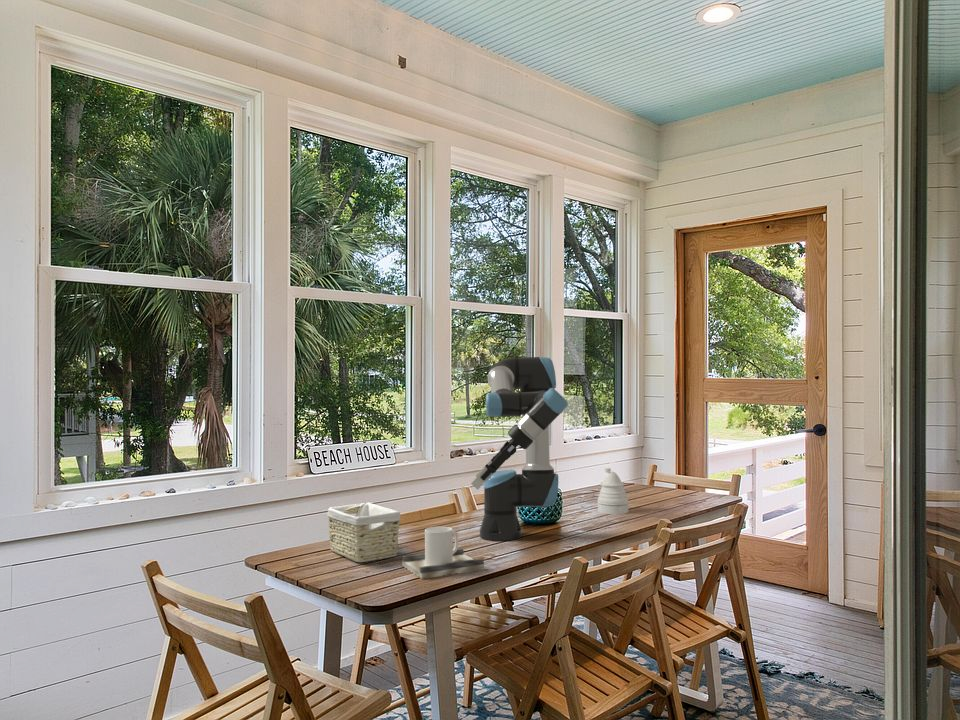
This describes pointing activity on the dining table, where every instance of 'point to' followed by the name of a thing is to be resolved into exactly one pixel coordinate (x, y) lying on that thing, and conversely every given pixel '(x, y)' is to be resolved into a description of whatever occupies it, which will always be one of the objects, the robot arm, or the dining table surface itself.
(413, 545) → the dining table surface
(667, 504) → the dining table surface
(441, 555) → the cup
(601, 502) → the honey pot
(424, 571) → the rail board
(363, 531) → the storage basket
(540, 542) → the dining table surface
